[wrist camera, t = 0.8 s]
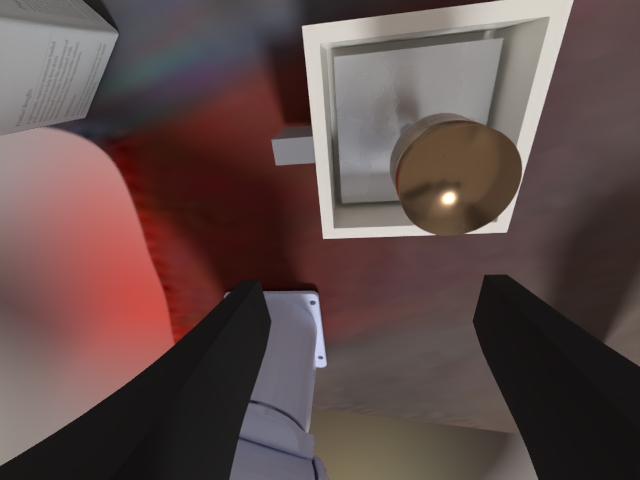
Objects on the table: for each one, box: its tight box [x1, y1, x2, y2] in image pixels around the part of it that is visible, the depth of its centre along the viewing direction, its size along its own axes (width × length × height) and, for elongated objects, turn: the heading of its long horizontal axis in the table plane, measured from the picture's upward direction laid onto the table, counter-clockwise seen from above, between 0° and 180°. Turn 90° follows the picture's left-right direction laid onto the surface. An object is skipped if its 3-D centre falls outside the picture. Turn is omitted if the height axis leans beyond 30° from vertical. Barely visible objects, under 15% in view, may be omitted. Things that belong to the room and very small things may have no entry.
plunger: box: [334, 38, 522, 236], centre depth 11 cm, size 7×7×8 cm
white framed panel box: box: [272, 0, 573, 239], centre depth 14 cm, size 9×11×4 cm
